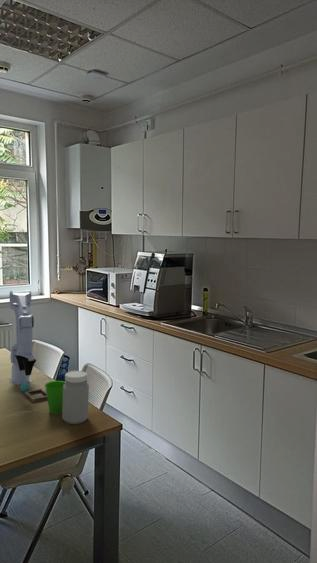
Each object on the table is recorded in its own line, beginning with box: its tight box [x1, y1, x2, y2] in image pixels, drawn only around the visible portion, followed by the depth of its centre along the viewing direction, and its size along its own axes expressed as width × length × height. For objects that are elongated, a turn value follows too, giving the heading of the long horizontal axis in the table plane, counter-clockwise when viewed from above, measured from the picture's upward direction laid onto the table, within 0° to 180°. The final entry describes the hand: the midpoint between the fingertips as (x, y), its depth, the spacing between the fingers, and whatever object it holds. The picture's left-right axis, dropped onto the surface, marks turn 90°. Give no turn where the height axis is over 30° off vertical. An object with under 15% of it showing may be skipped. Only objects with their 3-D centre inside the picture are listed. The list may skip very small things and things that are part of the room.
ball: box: [20, 383, 31, 392], centre depth 182 cm, size 4×4×4 cm
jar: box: [61, 370, 90, 425], centre depth 157 cm, size 10×10×18 cm
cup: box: [44, 380, 65, 415], centre depth 164 cm, size 9×9×11 cm
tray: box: [23, 388, 48, 404], centre depth 177 cm, size 10×8×2 cm
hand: (25, 372), depth 182 cm, fingers open, 7 cm apart
